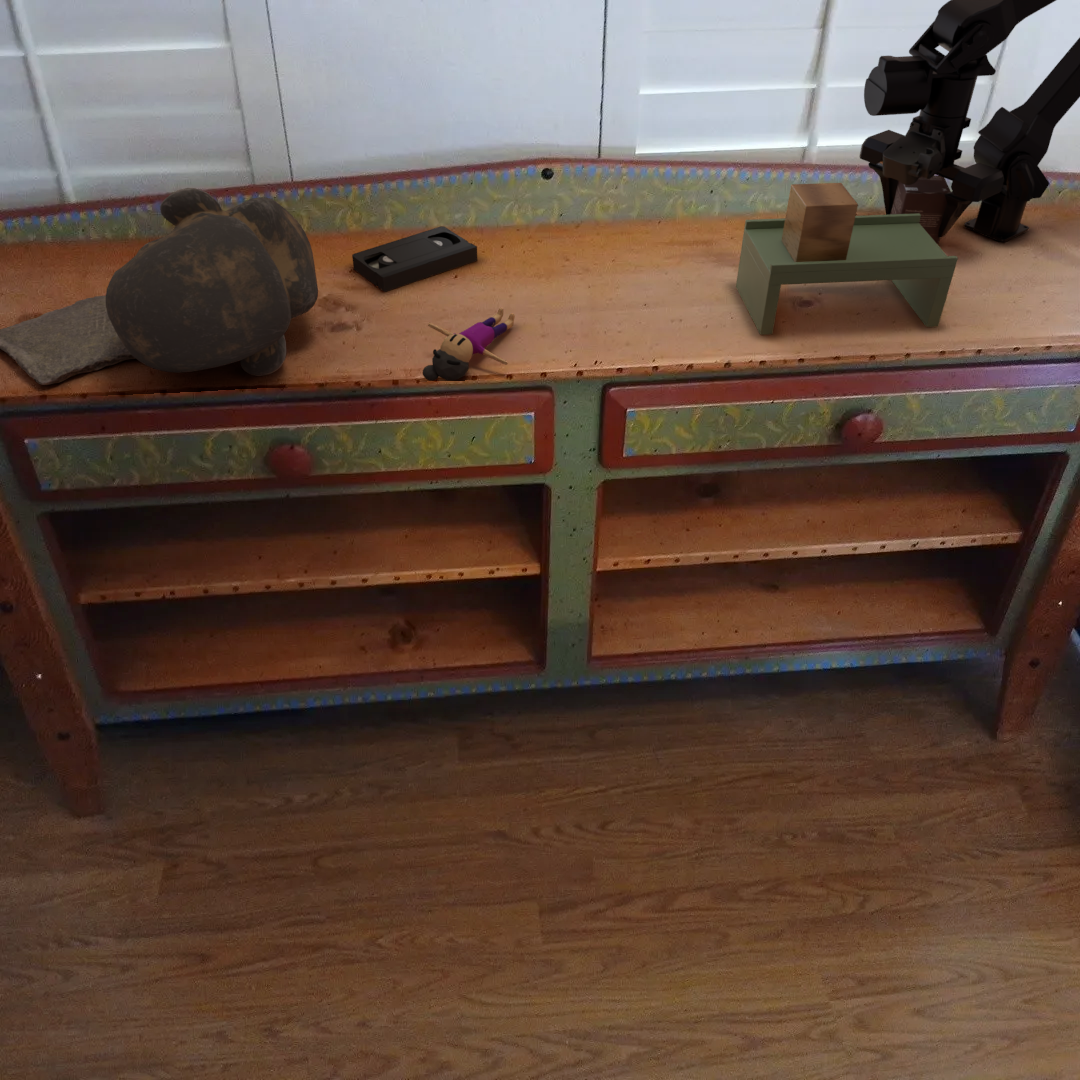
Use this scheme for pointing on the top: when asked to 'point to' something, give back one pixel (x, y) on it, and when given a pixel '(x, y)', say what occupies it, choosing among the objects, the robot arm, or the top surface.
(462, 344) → the toy
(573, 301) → the top surface
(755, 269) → the shelf
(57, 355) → the stone
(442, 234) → the vhs tape
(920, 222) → the box
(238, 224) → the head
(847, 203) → the wooden block
